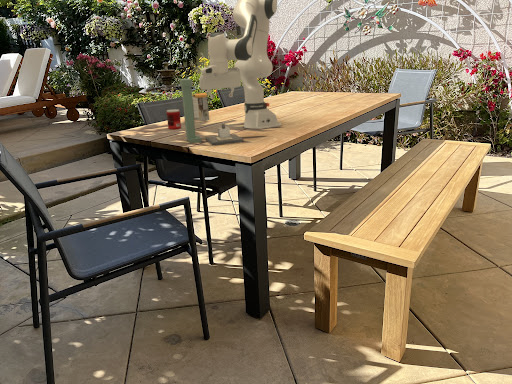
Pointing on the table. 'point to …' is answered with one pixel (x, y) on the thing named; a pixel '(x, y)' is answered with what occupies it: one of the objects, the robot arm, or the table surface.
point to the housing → (223, 132)
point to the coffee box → (202, 109)
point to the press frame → (188, 111)
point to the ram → (195, 103)
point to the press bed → (224, 140)
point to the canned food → (173, 119)
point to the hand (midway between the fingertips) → (221, 97)
